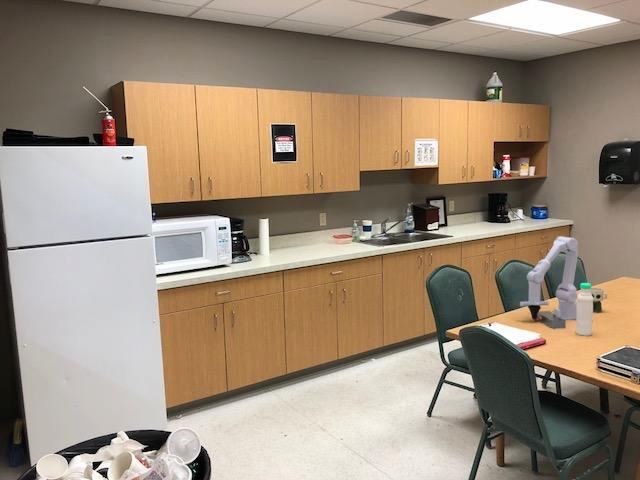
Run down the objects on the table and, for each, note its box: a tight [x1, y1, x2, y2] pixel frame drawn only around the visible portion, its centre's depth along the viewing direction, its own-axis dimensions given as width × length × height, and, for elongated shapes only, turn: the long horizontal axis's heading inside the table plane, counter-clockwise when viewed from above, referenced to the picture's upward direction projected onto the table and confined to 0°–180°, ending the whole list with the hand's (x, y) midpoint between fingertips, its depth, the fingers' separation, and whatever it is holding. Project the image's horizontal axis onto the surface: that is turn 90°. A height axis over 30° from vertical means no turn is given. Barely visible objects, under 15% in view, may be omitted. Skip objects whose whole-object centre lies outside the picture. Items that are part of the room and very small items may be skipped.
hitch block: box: [537, 310, 567, 329], centre depth 270 cm, size 7×18×5 cm, turn 1°
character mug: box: [590, 287, 608, 313], centre depth 289 cm, size 11×7×13 cm, turn 53°
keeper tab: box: [553, 307, 560, 317], centre depth 265 cm, size 1×5×4 cm, turn 1°
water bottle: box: [575, 282, 594, 337], centre depth 250 cm, size 7×7×25 cm
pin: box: [534, 315, 542, 322], centre depth 274 cm, size 11×3×3 cm, turn 91°
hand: (533, 318), depth 274 cm, fingers closed
